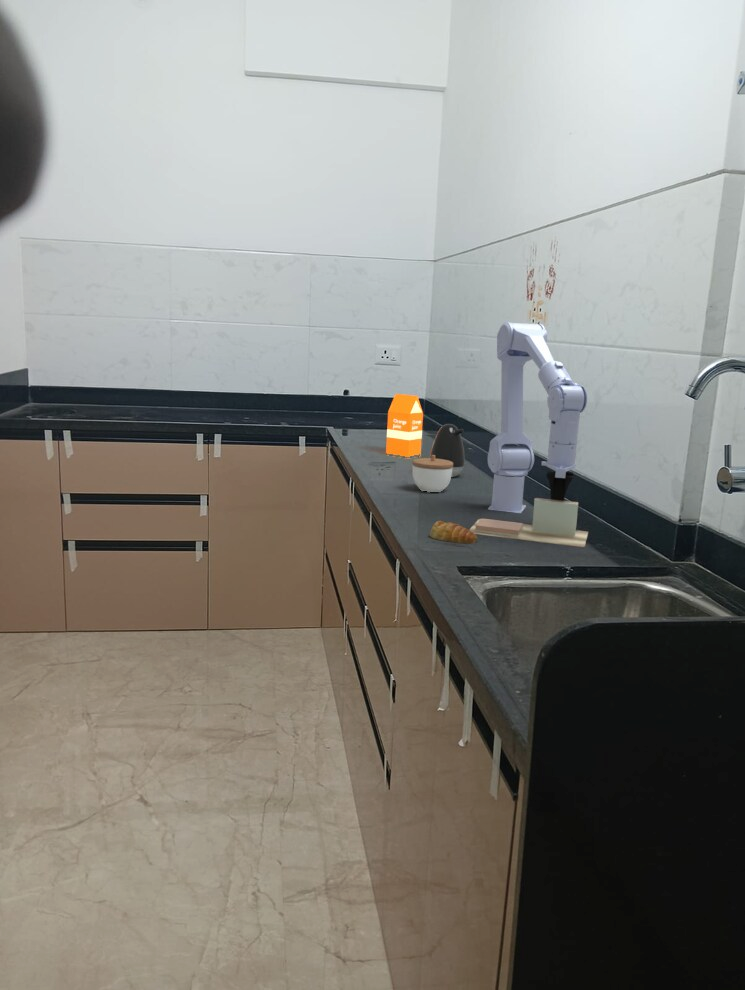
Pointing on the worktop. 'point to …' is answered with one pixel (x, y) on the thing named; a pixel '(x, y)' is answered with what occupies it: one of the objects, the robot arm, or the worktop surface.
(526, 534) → the board
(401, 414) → the orange juice
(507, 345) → the robot arm
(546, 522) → the tile
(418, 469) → the lidded jar
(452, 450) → the penguin figurine
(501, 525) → the tile
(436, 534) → the pastry
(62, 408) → the worktop surface
